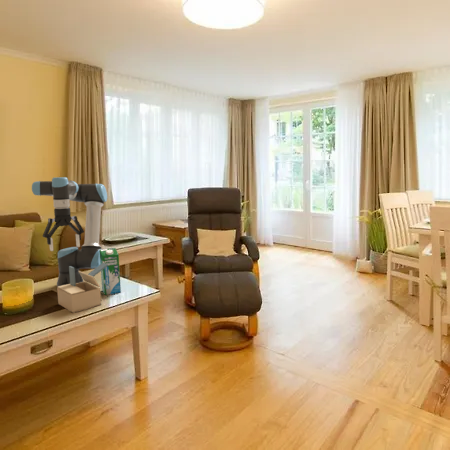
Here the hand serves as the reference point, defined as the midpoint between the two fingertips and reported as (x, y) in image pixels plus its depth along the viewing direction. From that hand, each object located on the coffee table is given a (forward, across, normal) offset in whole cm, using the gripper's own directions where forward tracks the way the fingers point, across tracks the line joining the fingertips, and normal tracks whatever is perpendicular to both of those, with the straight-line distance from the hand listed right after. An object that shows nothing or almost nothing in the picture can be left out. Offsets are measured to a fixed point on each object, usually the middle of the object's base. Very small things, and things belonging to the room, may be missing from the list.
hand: (65, 248), depth 188 cm
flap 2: (+18, +9, -4) cm, 20 cm away
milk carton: (+30, +26, +3) cm, 40 cm away
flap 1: (+21, 0, -4) cm, 21 cm away
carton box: (+30, +4, -4) cm, 31 cm away
